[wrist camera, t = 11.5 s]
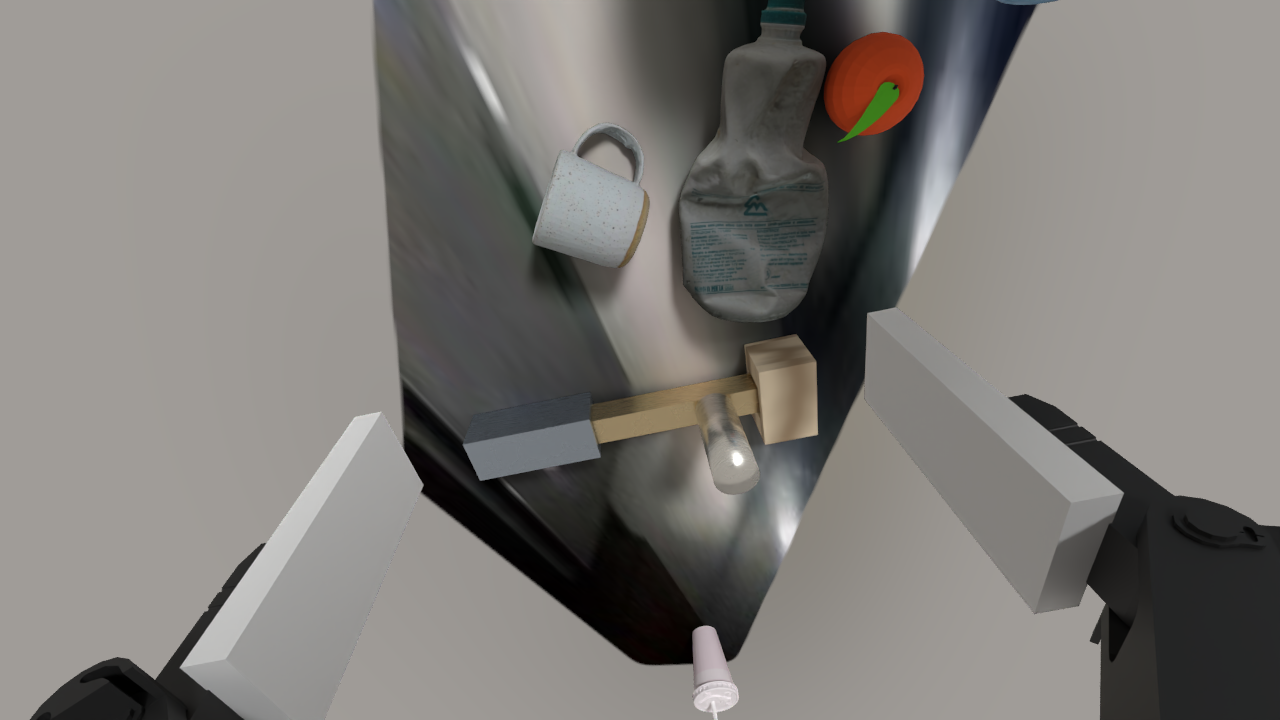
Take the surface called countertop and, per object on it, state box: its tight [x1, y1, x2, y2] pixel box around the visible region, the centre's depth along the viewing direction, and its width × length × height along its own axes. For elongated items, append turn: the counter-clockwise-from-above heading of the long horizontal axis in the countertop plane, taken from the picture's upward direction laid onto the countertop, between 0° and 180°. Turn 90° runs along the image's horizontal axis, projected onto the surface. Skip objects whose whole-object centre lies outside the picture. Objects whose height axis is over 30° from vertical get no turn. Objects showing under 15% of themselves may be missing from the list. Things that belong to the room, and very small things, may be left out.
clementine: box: [824, 32, 924, 143], centre depth 39 cm, size 8×7×7 cm
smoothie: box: [692, 626, 739, 720], centre depth 72 cm, size 6×6×14 cm
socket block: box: [744, 334, 818, 445], centre depth 53 cm, size 6×9×6 cm, turn 11°
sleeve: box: [463, 392, 601, 481], centre depth 54 cm, size 13×5×5 cm, turn 101°
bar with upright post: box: [591, 373, 760, 495], centre depth 49 cm, size 23×4×13 cm, turn 101°
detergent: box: [679, 0, 829, 323], centre depth 42 cm, size 13×7×25 cm
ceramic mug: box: [532, 123, 650, 268], centre depth 41 cm, size 11×8×8 cm
